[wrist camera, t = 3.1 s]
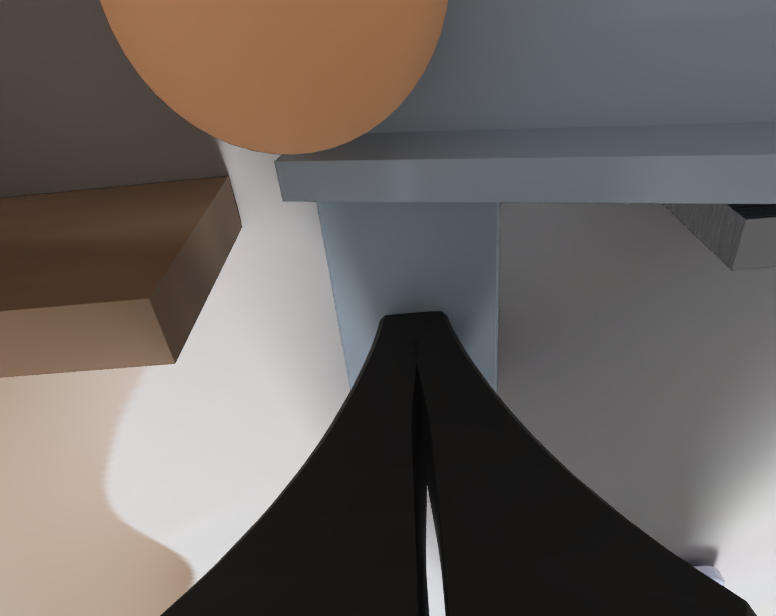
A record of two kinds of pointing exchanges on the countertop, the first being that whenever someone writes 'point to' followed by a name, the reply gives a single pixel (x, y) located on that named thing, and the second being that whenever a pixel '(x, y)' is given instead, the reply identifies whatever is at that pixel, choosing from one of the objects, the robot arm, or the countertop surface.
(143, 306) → the pocket
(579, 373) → the countertop surface
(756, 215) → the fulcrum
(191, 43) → the ball
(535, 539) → the robot arm
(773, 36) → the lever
